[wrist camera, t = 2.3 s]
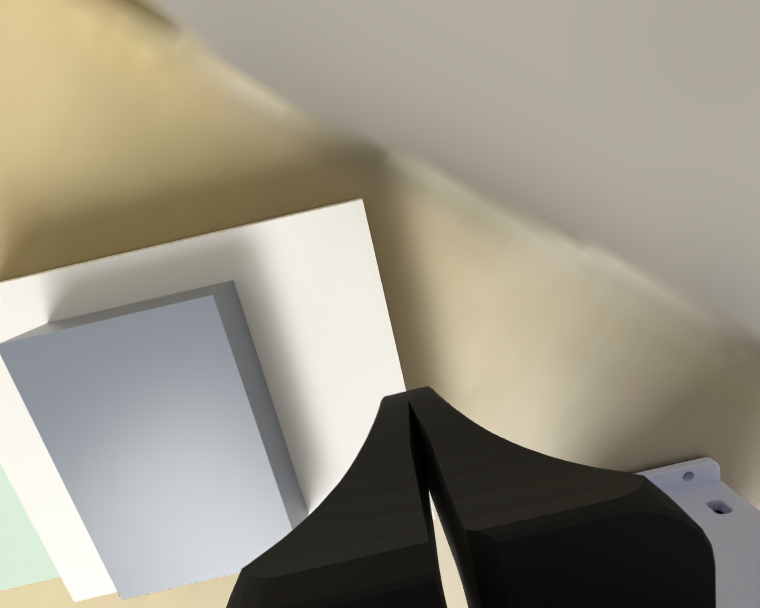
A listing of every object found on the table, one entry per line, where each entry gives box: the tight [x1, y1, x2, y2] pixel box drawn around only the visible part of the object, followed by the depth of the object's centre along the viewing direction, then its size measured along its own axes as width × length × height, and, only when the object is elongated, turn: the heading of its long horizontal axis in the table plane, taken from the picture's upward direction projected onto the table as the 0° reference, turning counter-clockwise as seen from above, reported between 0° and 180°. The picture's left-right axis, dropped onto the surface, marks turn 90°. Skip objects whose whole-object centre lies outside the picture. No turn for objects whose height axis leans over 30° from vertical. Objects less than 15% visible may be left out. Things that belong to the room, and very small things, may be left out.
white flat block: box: [0, 198, 435, 602], centre depth 16 cm, size 14×12×3 cm
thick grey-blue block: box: [0, 280, 309, 600], centre depth 14 cm, size 6×9×2 cm, turn 13°
